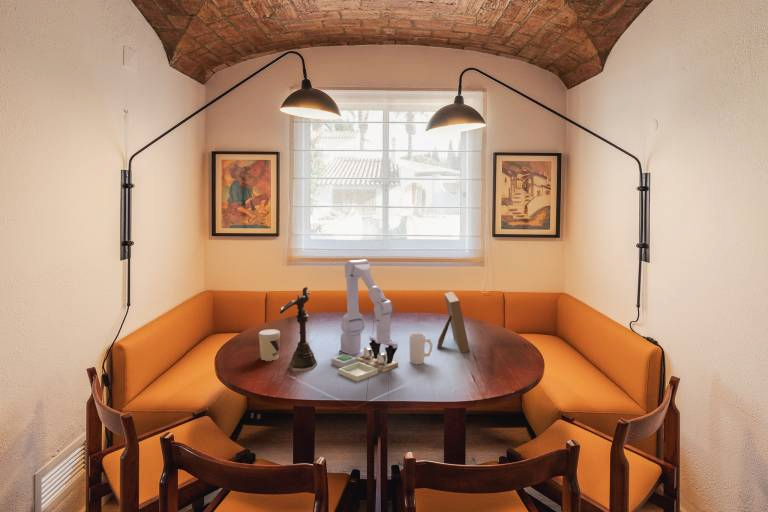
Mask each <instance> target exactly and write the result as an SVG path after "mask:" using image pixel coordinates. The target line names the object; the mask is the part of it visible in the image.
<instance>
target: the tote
mask: <svg viewBox="0 0 768 512" xmlns="http://www.w3.org/2000/svg"><path fill="white" fill-rule="evenodd" d="M378 373H379V370H378V369H377V368H374V367H372V366H369V365H366V364H364V363H361V362H357V363H354V364H351V365H348V366H345V367H342V368H341V367H339V368H338V375H342V376H343V377H346V378H348V379H350V380H353V381H355V382H360V381H362V380H364V379H367V378H369V377H373V376H374V375H377V374H378Z"/></svg>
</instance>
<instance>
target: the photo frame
mask: <svg viewBox="0 0 768 512" xmlns="http://www.w3.org/2000/svg"><path fill="white" fill-rule="evenodd" d="M444 298H445V303H446V308H447V312H448V319H447V321H446V323H445V326H444V327H443V329H442V331H441V334H440V336H439V338H438V341H437V346H436V349H440V348H441V347H443V344H444V341H445V339H446V335H447V332H448V329H449V326H450V327H451V331H452V336H453V339H454V341H455V344H456V345H457V348H458V350H459V353H466V352H470V345H469V342H468V341H469V340H468V337H467V331H466V326H465V322H464V318H463V317H464V316H463V312H462V307H461V303H460V300H459V298H458V297H457V295H456V294H455V293H454V291H449V292H444Z"/></svg>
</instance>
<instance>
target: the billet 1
mask: <svg viewBox="0 0 768 512" xmlns="http://www.w3.org/2000/svg"><path fill="white" fill-rule="evenodd" d="M363 350H364V351H363V354H364V359H365V360H371V359H373V351H372V348H371V346H367V347H363Z"/></svg>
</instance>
